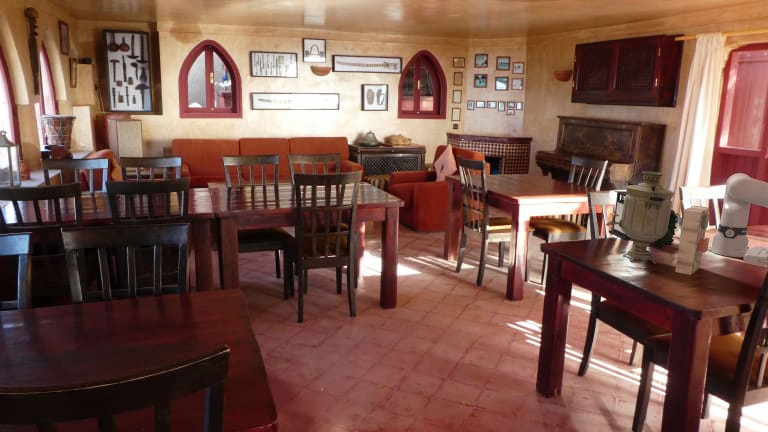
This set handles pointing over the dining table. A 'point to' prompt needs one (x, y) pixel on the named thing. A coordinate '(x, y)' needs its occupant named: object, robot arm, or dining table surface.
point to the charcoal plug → (704, 221)
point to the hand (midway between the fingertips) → (734, 251)
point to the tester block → (691, 240)
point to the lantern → (620, 213)
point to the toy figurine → (668, 236)
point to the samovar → (645, 214)
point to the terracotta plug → (703, 245)
